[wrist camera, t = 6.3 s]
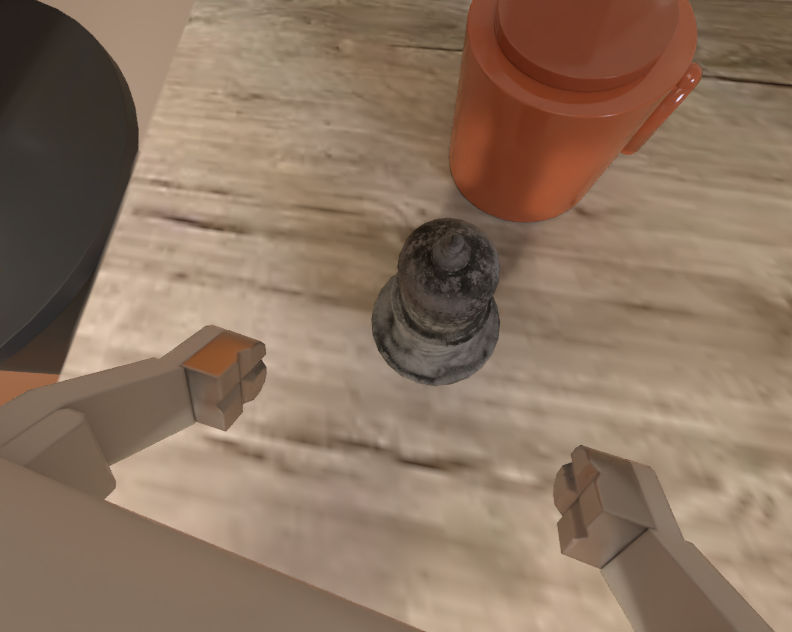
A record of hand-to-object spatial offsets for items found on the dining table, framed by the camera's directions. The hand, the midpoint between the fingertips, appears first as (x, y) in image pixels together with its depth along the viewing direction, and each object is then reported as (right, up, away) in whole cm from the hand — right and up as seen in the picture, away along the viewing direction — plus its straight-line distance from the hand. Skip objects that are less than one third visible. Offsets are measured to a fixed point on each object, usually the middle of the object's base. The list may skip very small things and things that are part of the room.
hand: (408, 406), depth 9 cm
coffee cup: (+7, +12, +13) cm, 19 cm away
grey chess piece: (+2, +1, +11) cm, 11 cm away
